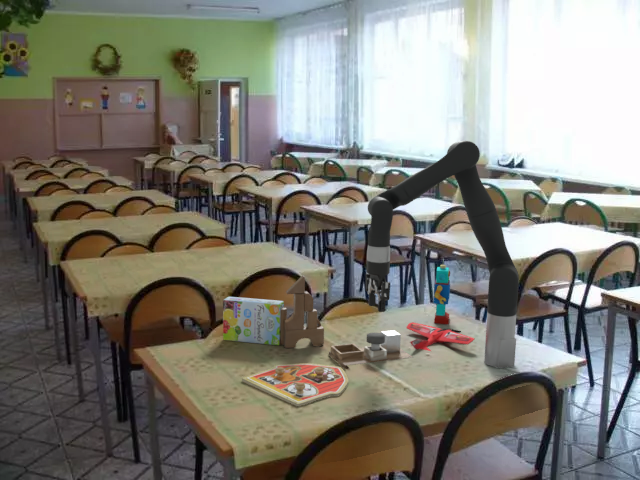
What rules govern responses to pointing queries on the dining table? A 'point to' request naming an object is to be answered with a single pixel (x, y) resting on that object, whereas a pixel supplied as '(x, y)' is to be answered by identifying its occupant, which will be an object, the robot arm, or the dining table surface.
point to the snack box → (252, 320)
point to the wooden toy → (300, 319)
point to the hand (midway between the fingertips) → (376, 308)
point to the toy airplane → (436, 336)
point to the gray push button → (375, 340)
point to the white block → (391, 341)
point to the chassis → (362, 355)
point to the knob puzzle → (300, 382)
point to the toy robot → (441, 294)
